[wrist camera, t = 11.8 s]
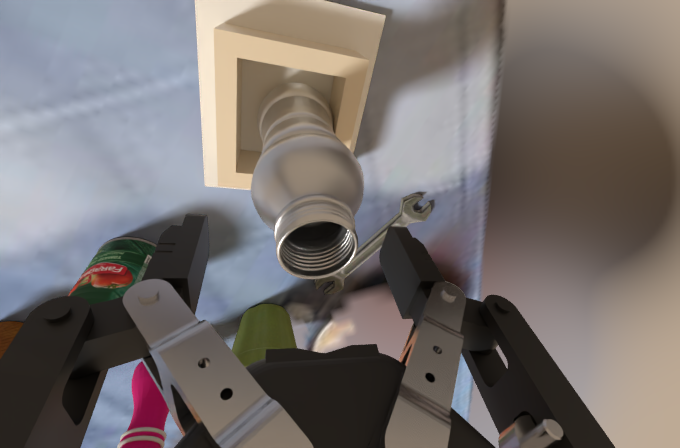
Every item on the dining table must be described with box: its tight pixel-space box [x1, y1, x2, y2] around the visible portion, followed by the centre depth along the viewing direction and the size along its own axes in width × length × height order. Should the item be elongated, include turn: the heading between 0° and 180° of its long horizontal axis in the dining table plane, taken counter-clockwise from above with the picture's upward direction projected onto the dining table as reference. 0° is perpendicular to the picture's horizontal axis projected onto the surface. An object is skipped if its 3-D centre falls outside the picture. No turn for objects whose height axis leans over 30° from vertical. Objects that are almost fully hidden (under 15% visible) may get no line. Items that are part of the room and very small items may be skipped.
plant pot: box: [232, 304, 297, 367], centre depth 44 cm, size 12×12×11 cm
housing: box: [195, 0, 386, 190], centre depth 28 cm, size 18×15×6 cm
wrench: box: [315, 194, 431, 294], centre depth 43 cm, size 5×20×1 cm, turn 136°
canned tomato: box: [68, 237, 157, 305], centre depth 33 cm, size 8×8×11 cm
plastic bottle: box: [251, 82, 364, 279], centre depth 22 cm, size 6×7×20 cm
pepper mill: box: [117, 362, 169, 448], centre depth 40 cm, size 7×7×20 cm
